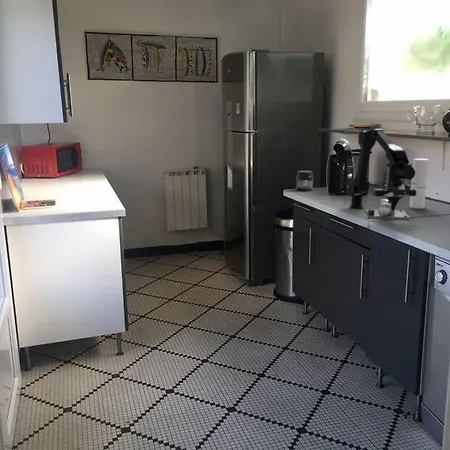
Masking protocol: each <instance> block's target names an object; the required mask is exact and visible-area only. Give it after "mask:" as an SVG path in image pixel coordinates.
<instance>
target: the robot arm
mask: <svg viewBox="0 0 450 450" xmlns="http://www.w3.org/2000/svg"><path fill="white" fill-rule="evenodd" d="M357 138H358V141H357V142H358V146H359V147H360V149H359V150H360V151H359V158H358V164H357V171H356V176H355V177H354V178H353V180H352V181H351V186H350V187H349V188H348V190H346V191H347V196H350V197H351V199H350V201H351V203H350V205H349V207H350V209H364V205H363V201H364V199H363V198H364V197H367V196H368V193H369V190H370V183H371V182H370V181H369V180H368V177H367V176H368V170H369V164H370V157H371V150H372V149H373V148H374V146H376V142H377V143H378V144H379V146H380V147H381V148H382V149H383V150H384V152H385V157H386V159H387V161H388V163H387V164H386V165H385V166H386V167H388V176H387V177H388V178H387V180H386V181H387V186H386V190H384V189H382V188H373V189H372V191H371V195H372V196H374V197H385V198H386V199H388V202H389V204H390V207H391V210H392V211H394V209H395V210H396V207H397V205H398V203H399V201H400V200H401V199H403V198H404V196H406V195H408V196H409V197H410V196H416V190H415V189H412V188H411V185H410V184H408V183H406V184H404V183H403V182H404V181H403V179H404V180H412V178H413V177H414V176H415V170H414V168H413V163H410V160H409V158H408V155H407V154H406V153H407V152H406V151H405V150H404V149H403V148H402V147H401V146H398V145H396V144H395V143H394V142H393V140H391V139H390V138H389V136H388V135H387V134H386V133H385V131H384V129H382V128H374V129H371V130H362V131H360V132H359V133H358V137H357Z"/></svg>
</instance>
